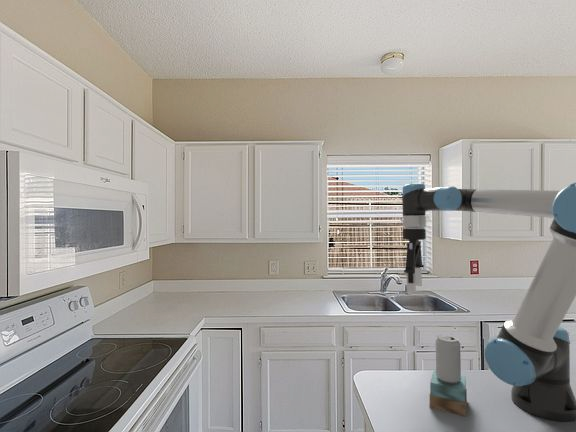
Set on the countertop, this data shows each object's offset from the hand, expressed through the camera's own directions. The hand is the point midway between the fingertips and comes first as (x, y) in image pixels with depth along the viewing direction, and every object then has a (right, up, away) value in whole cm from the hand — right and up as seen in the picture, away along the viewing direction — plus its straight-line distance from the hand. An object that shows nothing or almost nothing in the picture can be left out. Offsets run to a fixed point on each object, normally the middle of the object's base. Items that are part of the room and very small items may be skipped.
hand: (414, 289), depth 116 cm
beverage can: (+2, -22, -21) cm, 30 cm away
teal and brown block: (+2, -28, -21) cm, 35 cm away
